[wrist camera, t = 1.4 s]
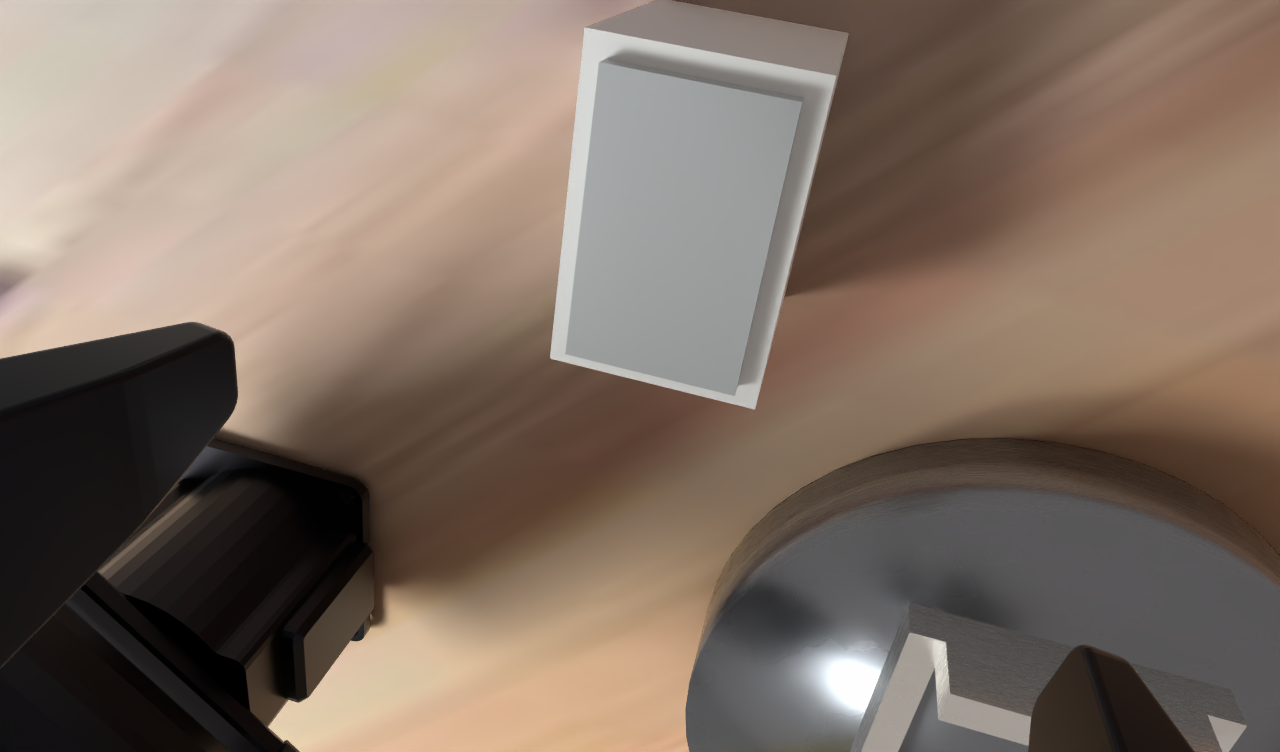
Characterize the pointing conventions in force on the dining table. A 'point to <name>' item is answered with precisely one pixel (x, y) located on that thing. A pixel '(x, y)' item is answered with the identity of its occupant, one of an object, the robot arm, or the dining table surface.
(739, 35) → the block
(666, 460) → the dining table surface
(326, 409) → the dining table surface
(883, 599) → the grey round tray
